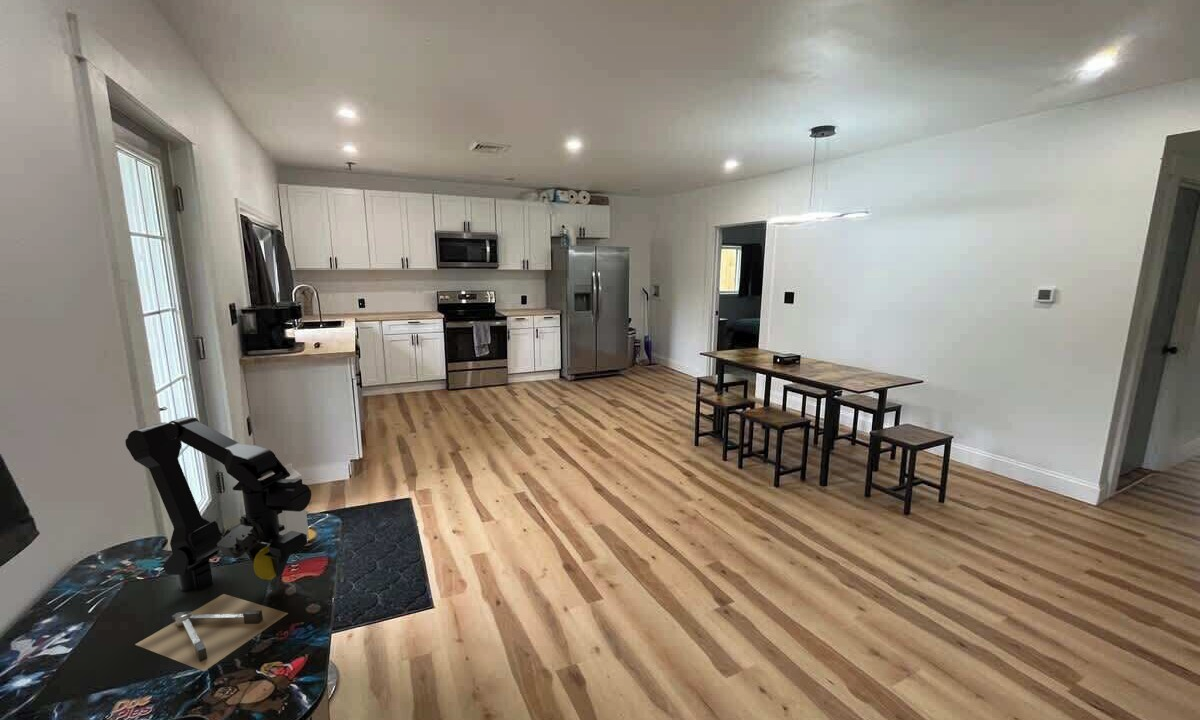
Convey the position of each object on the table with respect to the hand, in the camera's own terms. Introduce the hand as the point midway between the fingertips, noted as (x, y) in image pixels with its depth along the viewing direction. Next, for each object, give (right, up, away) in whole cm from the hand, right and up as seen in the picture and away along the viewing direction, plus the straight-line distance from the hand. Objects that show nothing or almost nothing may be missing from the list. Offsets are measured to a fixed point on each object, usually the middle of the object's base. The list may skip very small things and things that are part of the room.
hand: (270, 573), depth 108 cm
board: (-3, -7, -11) cm, 14 cm away
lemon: (0, -2, 0) cm, 2 cm away
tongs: (-5, -6, -12) cm, 14 cm away
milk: (-9, -2, +22) cm, 24 cm away
